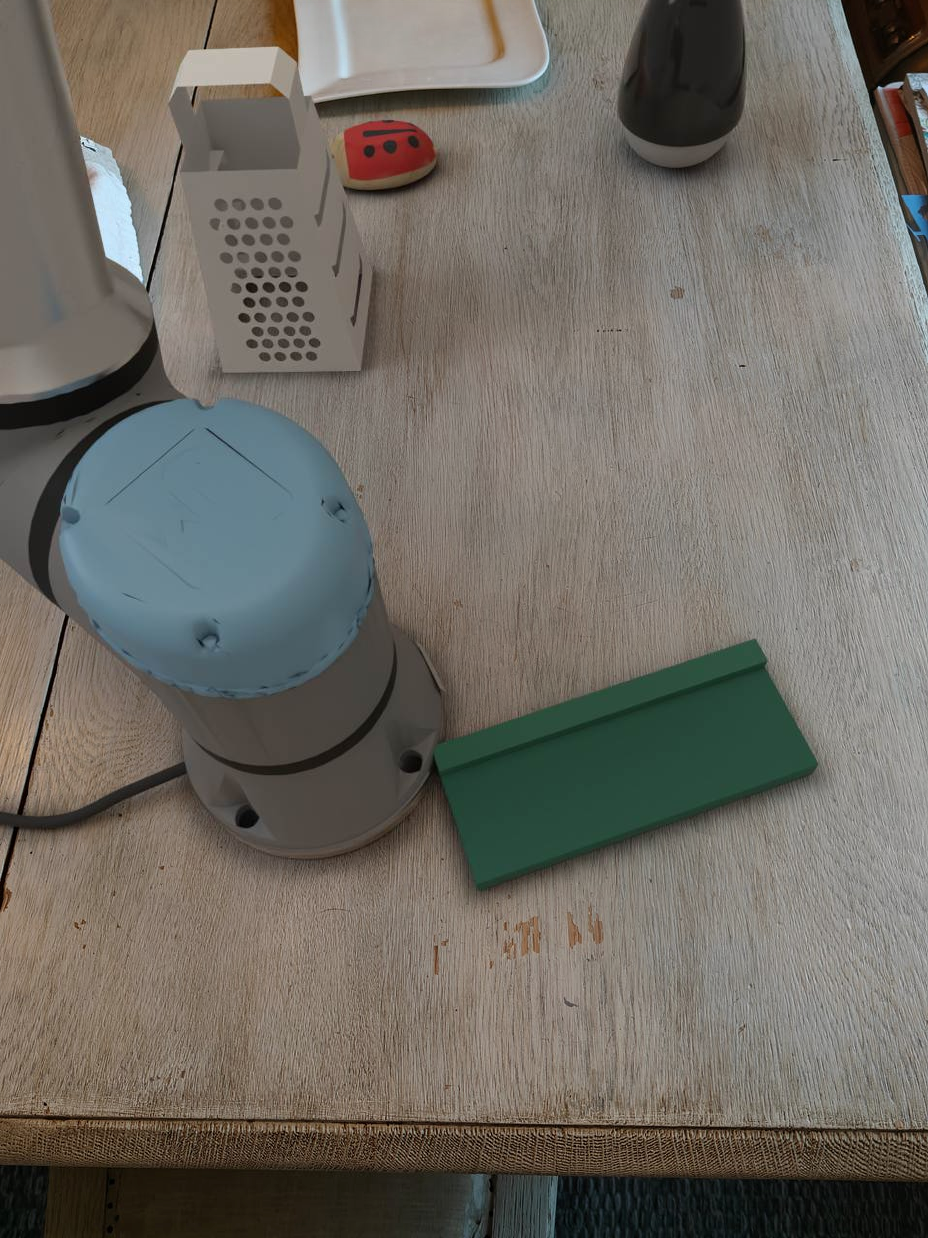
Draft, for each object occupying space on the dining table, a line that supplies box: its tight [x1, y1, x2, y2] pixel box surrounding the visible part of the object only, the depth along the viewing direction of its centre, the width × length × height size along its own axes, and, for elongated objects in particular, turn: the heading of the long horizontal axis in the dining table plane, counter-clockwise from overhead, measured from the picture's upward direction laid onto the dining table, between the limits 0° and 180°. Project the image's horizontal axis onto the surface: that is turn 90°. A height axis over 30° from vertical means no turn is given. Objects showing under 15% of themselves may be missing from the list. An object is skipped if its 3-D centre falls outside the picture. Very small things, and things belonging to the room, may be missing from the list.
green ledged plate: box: [433, 638, 819, 892], centre depth 54 cm, size 20×8×2 cm, turn 108°
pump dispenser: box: [616, 0, 748, 169], centre depth 75 cm, size 10×10×15 cm
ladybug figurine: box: [329, 119, 441, 191], centre depth 81 cm, size 7×10×4 cm
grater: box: [167, 46, 374, 374], centre depth 65 cm, size 10×10×20 cm
